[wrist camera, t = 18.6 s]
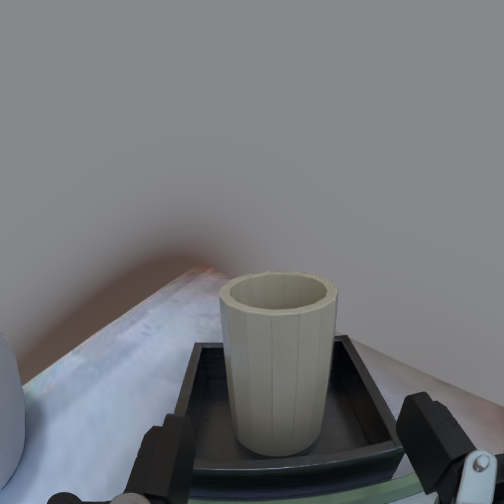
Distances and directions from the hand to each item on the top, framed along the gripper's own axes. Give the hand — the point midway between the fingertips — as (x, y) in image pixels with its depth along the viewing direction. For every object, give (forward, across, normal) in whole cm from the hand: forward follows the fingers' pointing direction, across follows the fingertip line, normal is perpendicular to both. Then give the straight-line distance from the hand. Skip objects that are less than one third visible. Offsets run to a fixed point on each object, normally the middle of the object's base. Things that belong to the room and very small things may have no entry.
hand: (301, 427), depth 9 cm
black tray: (+8, 0, +9) cm, 12 cm away
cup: (+8, 0, +9) cm, 12 cm away
